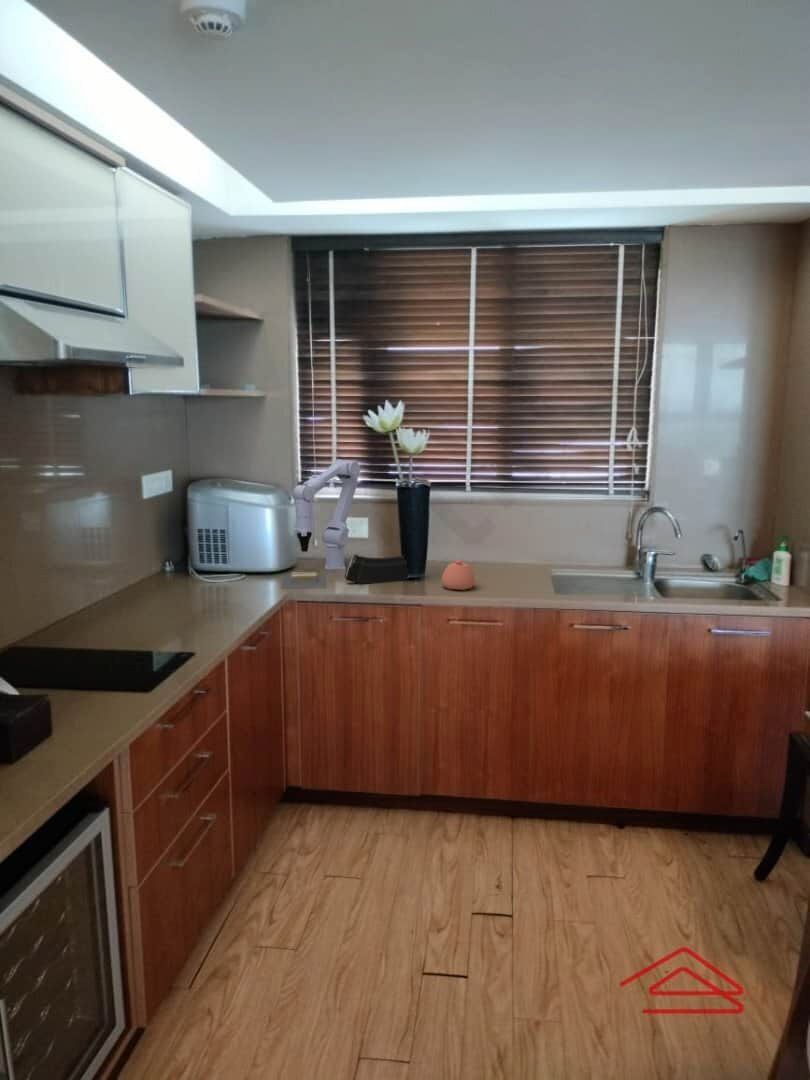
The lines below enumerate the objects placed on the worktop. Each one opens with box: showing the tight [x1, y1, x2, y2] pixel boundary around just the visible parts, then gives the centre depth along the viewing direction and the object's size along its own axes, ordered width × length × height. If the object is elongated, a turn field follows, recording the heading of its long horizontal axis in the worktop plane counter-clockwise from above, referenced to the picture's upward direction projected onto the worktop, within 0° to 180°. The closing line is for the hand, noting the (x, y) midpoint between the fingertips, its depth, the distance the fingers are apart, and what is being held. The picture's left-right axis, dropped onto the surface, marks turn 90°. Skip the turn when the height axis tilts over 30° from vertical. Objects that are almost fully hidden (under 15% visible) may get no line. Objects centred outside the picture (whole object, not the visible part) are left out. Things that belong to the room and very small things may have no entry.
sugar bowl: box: [441, 559, 476, 591], centre depth 271 cm, size 12×14×10 cm
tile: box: [291, 571, 317, 583], centre depth 278 cm, size 2×9×7 cm
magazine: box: [344, 554, 408, 584], centre depth 279 cm, size 17×3×30 cm
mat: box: [280, 574, 327, 590], centre depth 277 cm, size 22×16×1 cm
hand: (304, 551), depth 288 cm, fingers closed
